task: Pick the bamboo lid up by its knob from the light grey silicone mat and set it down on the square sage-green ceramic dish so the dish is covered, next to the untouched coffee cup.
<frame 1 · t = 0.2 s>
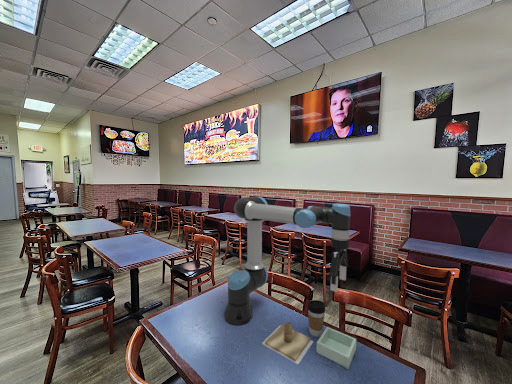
hand: (338, 284, 97), 28 cm above the table, fingers open, 13 cm apart
mat: (287, 343, 98), on the table
coffee cup: (315, 333, 105), on the table
lid: (287, 342, 98), point 1 cm above the table, touching mat
dish: (336, 351, 94), on the table
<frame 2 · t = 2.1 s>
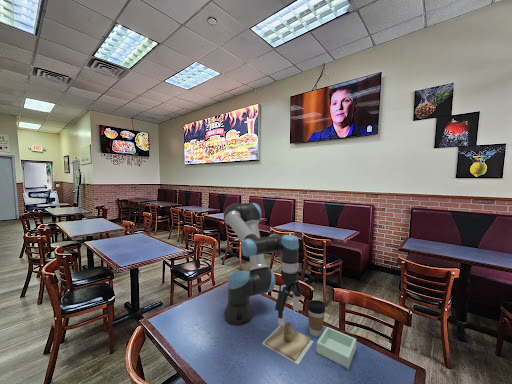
hand: (288, 317, 97), 13 cm above the table, fingers open, 13 cm apart
nothing on the table moved.
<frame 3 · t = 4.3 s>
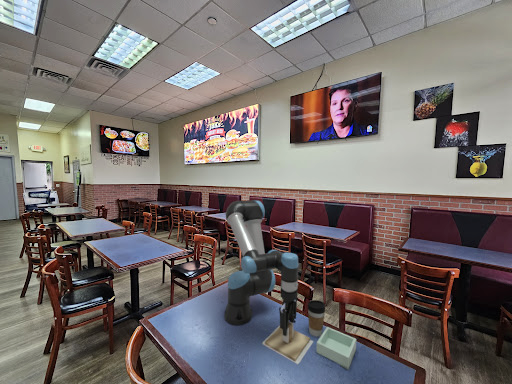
hand: (287, 338, 98), 2 cm above the table, fingers closed on lid, 3 cm apart
lid: (287, 342, 98), point 1 cm above the table, touching gripper
everything else where it was.
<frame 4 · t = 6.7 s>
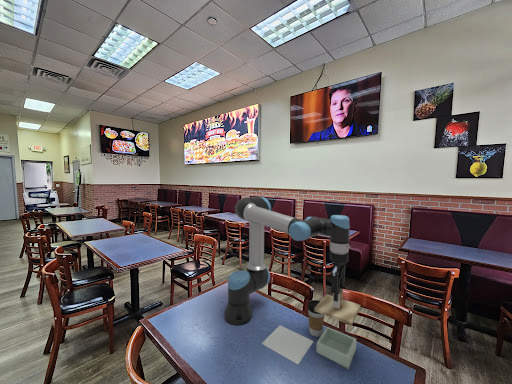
hand: (337, 305, 93), 21 cm above the table, fingers closed on lid, 3 cm apart
lid: (337, 309, 93), point 19 cm above the table, touching gripper
everything else where it was.
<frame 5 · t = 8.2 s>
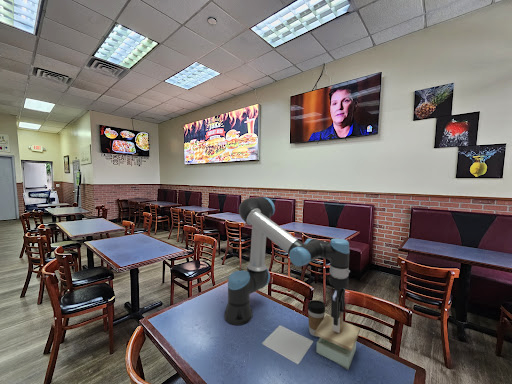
hand: (337, 328, 93), 11 cm above the table, fingers closed on lid, 3 cm apart
lid: (337, 332, 93), point 9 cm above the table, touching gripper
everything else where it was.
when the fingers open (8 cm above the table, at t = 9.2 s): lid drops 2 cm, resting on dish.
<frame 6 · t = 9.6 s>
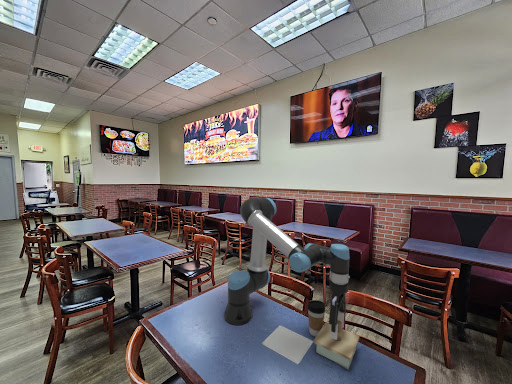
hand: (337, 332, 93), 9 cm above the table, fingers open, 9 cm apart
lid: (336, 340, 94), point 5 cm above the table, touching dish
everything else where it was.
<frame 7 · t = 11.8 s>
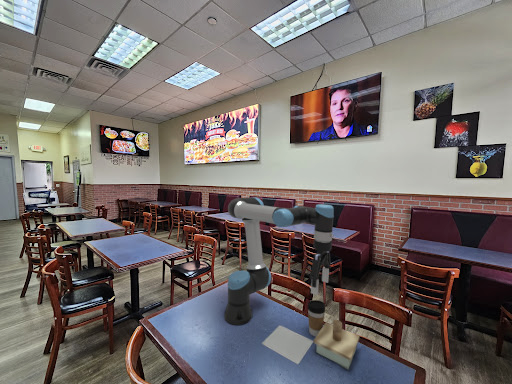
hand: (319, 287, 95), 27 cm above the table, fingers open, 13 cm apart
nothing on the table moved.
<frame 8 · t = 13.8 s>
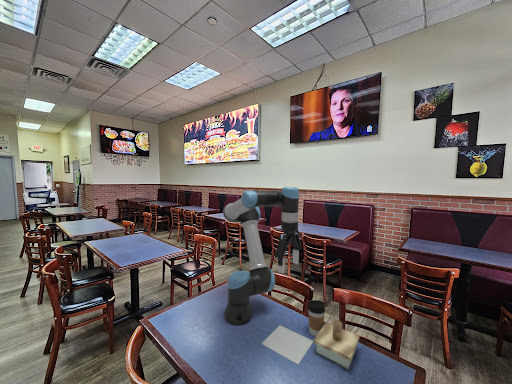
hand: (288, 267, 98), 35 cm above the table, fingers open, 13 cm apart
nothing on the table moved.
at the end: lid 0.0 cm off-centre on the dish, point 5.0 cm above the dish's base; lid tilted 0°; the gripper is holding nothing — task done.
